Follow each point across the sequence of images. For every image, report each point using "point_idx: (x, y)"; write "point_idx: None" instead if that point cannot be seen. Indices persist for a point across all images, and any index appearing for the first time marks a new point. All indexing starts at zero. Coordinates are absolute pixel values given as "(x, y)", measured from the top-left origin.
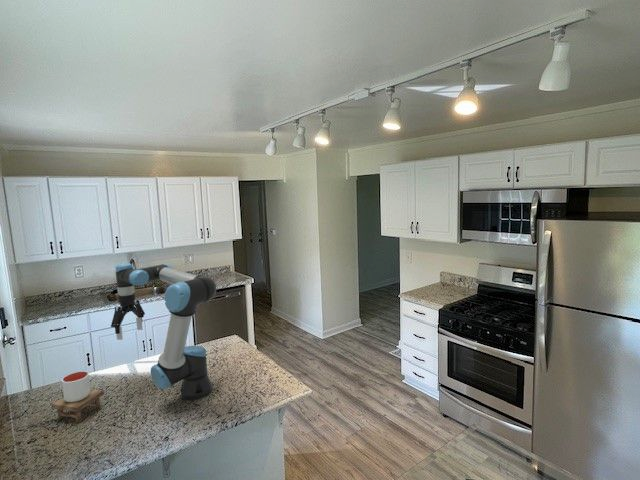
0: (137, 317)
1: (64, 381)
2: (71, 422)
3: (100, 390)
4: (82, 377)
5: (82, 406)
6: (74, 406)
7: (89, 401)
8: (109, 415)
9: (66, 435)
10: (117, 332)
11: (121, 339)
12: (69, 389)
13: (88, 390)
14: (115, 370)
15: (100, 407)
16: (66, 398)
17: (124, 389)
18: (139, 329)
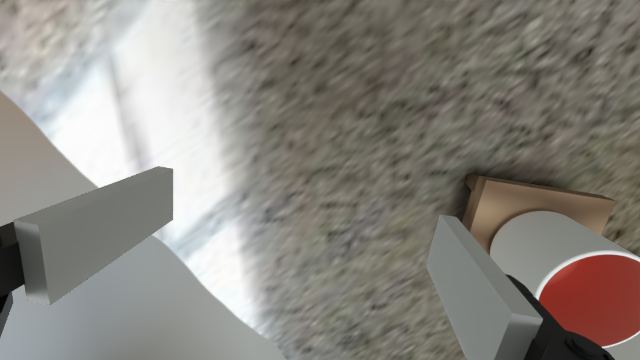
0: (27, 294)
1: (584, 332)
2: None
3: (483, 193)
4: None
5: (583, 193)
6: (604, 214)
7: (551, 189)
8: (521, 111)
9: (622, 179)
10: (527, 294)
11: (456, 218)
12: (627, 274)
13: (546, 217)
14: (227, 275)
15: (470, 174)
16: (589, 267)
17: (350, 166)
18: (170, 194)
